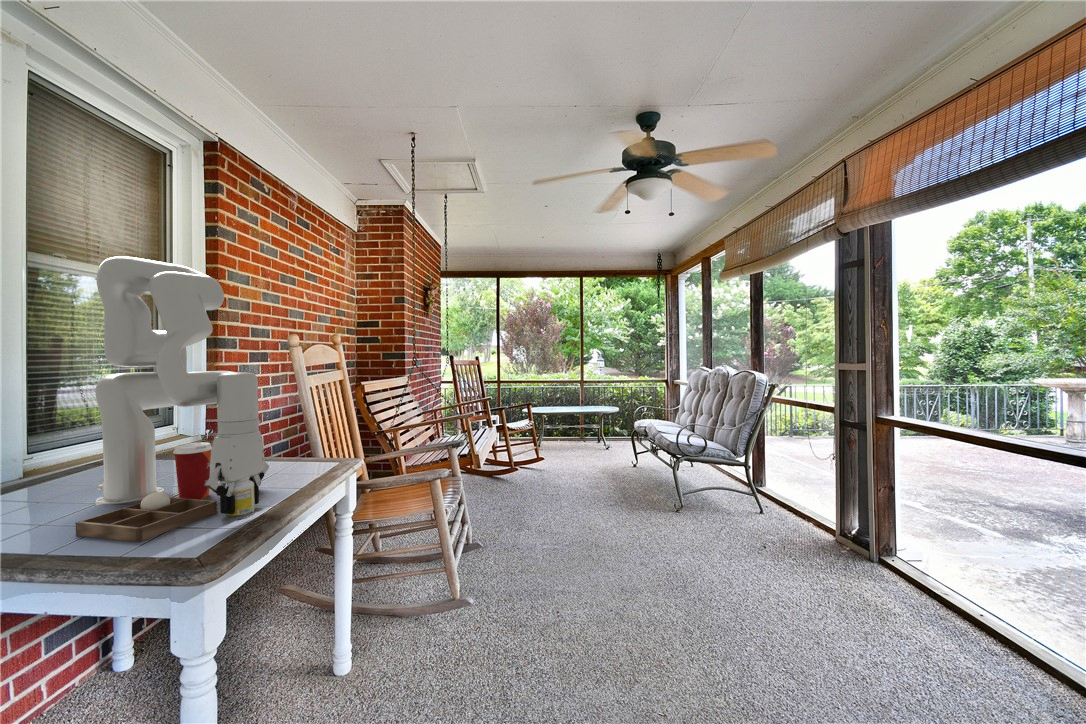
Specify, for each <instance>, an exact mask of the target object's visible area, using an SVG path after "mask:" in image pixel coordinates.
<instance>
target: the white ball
mask: <svg viewBox="0 0 1086 724" xmlns="http://www.w3.org/2000/svg"><path fill="white" fill-rule="evenodd" d="M170 497H171V496H169V495H168V494H167V493H165V492H153V493H150V494H148V495H147V496H146V497H144V498H143V499H142V500H141V501H140V502H141V505H140V507H141V509H142V510H154V509H157V508H160V507H163V506H166V505H169V504H170V502H171V501H170Z"/></svg>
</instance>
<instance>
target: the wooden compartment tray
mask: <svg viewBox="0 0 1086 724" xmlns="http://www.w3.org/2000/svg"><path fill="white" fill-rule="evenodd" d="M169 497H170V501H171V502H170V504H169V505H166V506H163V507H160V508H157V509H154V510H142V509H141V507H140V505H141V502H142V501H140V502H138V503H137V502H136V503H134V504H131V505H128V506H124V507H122V508H118V509H114V510H111V511H109V512H105V513H101V514H98V515H95V516H92V517H89V518H86V519H83V520H82V519H81V520H78V521H75V536H79V537H80V536H81V537H87V538H97V539H104V540H105V539H106V540H107V539H108V540H116V541H125V542H133V543H141V542H143V541H144V542H145V541H146V540H149V539H151V538H155V537H158V536H159V535H162V534H164V533H167V532H170V531H172V530H175V529H177V528H179V527H183V526H185V525H188V524H190V523H193V522H196V521H198V520H200V519H201V520H202V519H203V518H207V517H208V516H210V515H211V516H212V515H214V514H216V513H218V505H217V504H218V503H217V502H218V501H217V500H210V499H209V500H207V499H200V500H198V499H186V498H179V497H173V496H172V497H171V496H169Z"/></svg>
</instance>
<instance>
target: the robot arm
mask: <svg viewBox="0 0 1086 724" xmlns="http://www.w3.org/2000/svg"><path fill="white" fill-rule="evenodd" d="M96 286H97V291H98V294H99V297H100V299H101V302H102V303H101V304H102V307H103V315H104V319H103V326H104V327H103V329H104V330H103V335H104V337H103V338H104V339H103V341H104V342H103V343H104V345H103V346H104V347H103V348H104V355H105V359H106V362H107V363H109V365H112V366H114V367H118V368H150V367H152V368H155V371H150V372H148V371H147V372H146V371H141V372H140V371H139V372H121V373H114V374H110V375H107V376H105V377H102V379H100V380H99V381H98V382H97V384H96V386H95V389H94V390H95V391H94V392H95V399H96V402H97V405H98V410H99V413H100V419H101V431H102V432H101V433H102V435H101V436H102V453H103V454H102V457H103V460H102V461H103V482H102V484H98V486H96V487H97V488H96V489H97V491H102V496H100V497H98V498H96V499H95V506H100V505H117V504H125V503H132V502H137V501H142V500H143V498H144V497H146V496H147V495H148V494H150V493H153V492H163V493H165V489H164V488H163V487H160V486H157V470H156V469H157V466H156V465H157V464H156V461H157V460H156V457H157V456H156V430H155V425H154V423H153V421H152V420H151V419H150V418H149V417H148V415H146V414H145V412H144V411H146V410H152V409H163V408H169V407H175V406H177V407H182V408H189V407H198V406H207V405H216V409H217V411H216V412H217V413H216V415H217V416H216V417H217V418H216V419H217V436H214V438H213V441H212V445H211V447H212V449H211V459H210V478H209V479H208V481H207V482H206V484H205V486H206V487H208V488H209V490H211V491H212V492H213V493H215V494H216V495H217V496H218V497H219V499H220V500H219V501H220V502H219V505H220V507H219V509H220V510H219V511H220V513H221V514H224V515H226V514H233V513H235V496H234V495H232V492H233V488H234V484H235V481H238V480H241V479H243V478H246V477H250V478H249V480H250V481H253V483H254V497H255V505H258V504H260V493H259V492H260V490H259V489H260V486H261V485H262V480H263V478H264V477H265V474H266V473H267V472H268V470H269V469H270V465H269V464H268V462H266V461H265V453H264V443H263V438H262V435H261V434H262V433H261V431H260V430H259V429H260V428H259V427H260V426H259V425H260V424H261V420H260V419H259V384H258V383H259V381H258V377H257V375H256V374H255V373H253V372H248V371H247V372H245V371H244V372H243V371H238V372H235V371H232V370H231V371H230V370H205V371H204V370H203V371H187V369H188V368H187V365H188V362H187V361H188V360H187V358H188V354H187V353H188V352H187V347H188V346H192V345H194V344H196V343H199V342H201V341H203V340H205V339H206V338H208V337H210V336H211V334H212V333H213V330H214V328H213V325H212V322H211V320H210V318H209V316H208V313H207V311H216V310H218V309H219V308H221V306H222V305H223V303H224V301H225V293H224V290H223V287H222V285H221V283H219V282H218V281H217V280H216V279H215V278H213V277H212V276H209V275H207V274H204V272H203V273H202V272H200V271H198V270H195V269H193V268H190V267H188V266H184V265H181V264H180V265H179V264H174V263H168V262H163V261H157V260H151V259H145V258H140V257H133V256H113V257H109V258H106V259H105V260H103V261H102V262H101V264H100V265H99V267H98V269H97V272H96ZM140 295H148V296H149V295H150V296H151V297H152V300H153V302H154V305H155V308H156V310H157V312H158V315H159V318H160V320H161V322H162V325H163V327H164V329H165V330H162V329H161V330H159V329H153V328H152V312H151V310H150V307H149V306H148V305H147V304H146V302H145V300H143V299H142V297H140ZM227 484H228V485H227ZM226 485H227V489H226V488H225V487H226Z"/></svg>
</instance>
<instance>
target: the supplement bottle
mask: <svg viewBox="0 0 1086 724" xmlns="http://www.w3.org/2000/svg"><path fill="white" fill-rule="evenodd" d="M249 478H250V477H246V478H243V479H241V480H238V481H235V484H234V488H233V492H232V495H234V496H235V513H233V514H225V516H227V517H229V518H230V517H232V518H235V517H239V518H238V519H237V521H240V520H245V519H248V518H251V517H253V516H254V515H255V513H256V512H255V511H256V504H255V497H254V483H253V481H250V480H249ZM227 485H228V484H226V486H225V488H226V489H227ZM250 516H251V517H250Z"/></svg>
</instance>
